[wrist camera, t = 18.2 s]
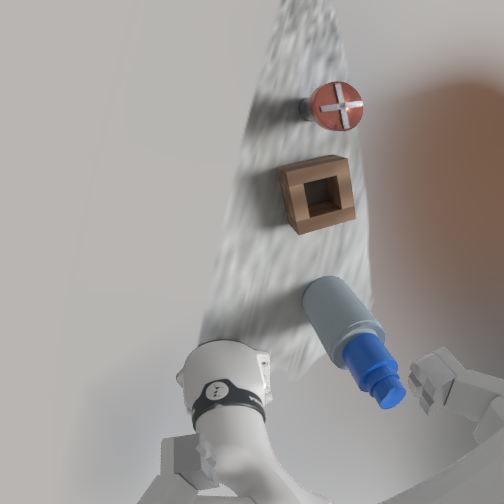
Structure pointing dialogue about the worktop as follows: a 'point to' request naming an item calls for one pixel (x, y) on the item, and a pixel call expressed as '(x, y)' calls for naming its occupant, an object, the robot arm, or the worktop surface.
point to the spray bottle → (353, 339)
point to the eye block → (337, 189)
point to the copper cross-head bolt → (333, 106)
